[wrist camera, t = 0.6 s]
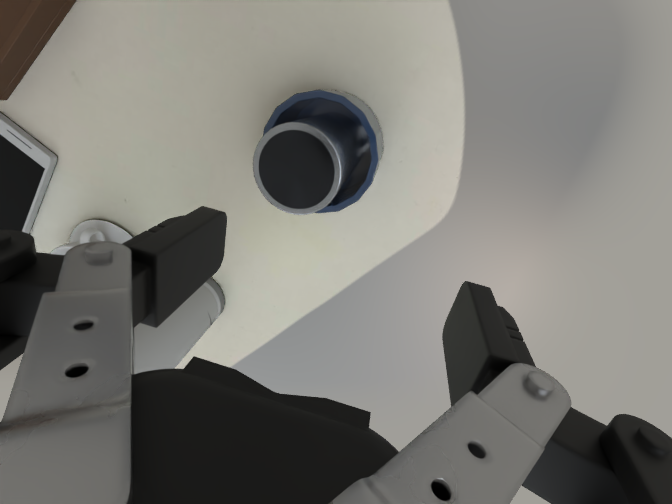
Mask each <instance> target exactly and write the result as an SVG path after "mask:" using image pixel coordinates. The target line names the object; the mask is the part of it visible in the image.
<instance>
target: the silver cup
mask: <svg viewBox="0 0 672 504" xmlns="http://www.w3.org/2000/svg"><path fill="white" fill-rule="evenodd" d="M363 148H364V143H363V137H362V134H361V131H360V129H359V128H358V126H357V125H356V124H355V122H354V121H353V120H351V119H350V118H349V117H347V116H345V115H343V114H340V113H336V112H328V113H323V114H319V115H315V116H311V117H307V118H303V119H299V120H295V121H291V122H287V123H283V124H280V125H277V126H275V127H274V128H272V129H270V130H269V131H268V132H267V133H266V134H265V135H264V136H263V137H262V138H261V140H260V141H259V143H258V145H257V147H256V150H255V153H254V158H253V171H254V177H255V180H256V183H257V185H258V188H259V189H260V191H261V193H262V194H263V195H264V197H265V198H266V199H267V200H268V201H269V202H270V203H271V204H272V205H274V206H275V207H277V208H278V209H280V210H282V211H285V212H287V213H291V214H297V215H306V214H311V213H315V212H317V211H319V210H321V209H323V208H324V207H326V206H327V205H328V204H329V203H330V202H331V201H332V200H333V199H334V197H335V196H336V194H337V193H338V192H339V190H340V189H341V187H342V186H343V185H344V183H345V182H346V180H347V179H348V178H349V176H350V175H351V173H352V172H353V171H354V169H355V168H356V166H357V165H358V163H359V162H360V160H361V157H362V154H363Z"/></svg>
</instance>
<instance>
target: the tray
mask: <svg viewBox="0 0 672 504" xmlns="http://www.w3.org/2000/svg"><path fill="white" fill-rule="evenodd" d="M75 1H76V0H0V100H7V99H8V98H9V96H10V95H11V93H12V92H13V90H14V89H15V88H16V86H17V85H18V83H19V82H20V80H21V79H22V78H23V76H24V75H25V73H26V72H27V70H28V69H29V67H30V66H31V65H32V63H33V62H34V60H35V59H36V57H37V56H38V55H39V53H40V52H41V50H42V49H43V47H44V46H45V44H46V43H47V42H48V40H49V39H50V37H51V36H52V34H53V33H54V32H55V30H56V29H57V27H58V26H59V24H60V23H61V21H62V20H63V19H64V17H65V16H66V14H67V13H68V11H69V10H70V9H71V7H72V6H73V4H74V3H75Z"/></svg>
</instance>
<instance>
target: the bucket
mask: <svg viewBox="0 0 672 504" xmlns="http://www.w3.org/2000/svg"><path fill="white" fill-rule="evenodd" d="M328 112H336V113H340V114H343V115H345V116H347V117H349V118H350V119H351V120H353V121H354V122H355V124H356V125H357V126H358V128H359V129H360V131H361V134H362V137H363V143H364V148H363V154H362V157H361V160H360V162H359V163H358V165H357V166H356V168H355V169H354V171H353V172H352V173H351V175H350V176H349V178H348V179H347V180H346V182H345V183H344V185H343V186H342V187H341V189H340V190H339V192H338V193H337V194H336V196H335V197H334V199H333V200H332V201H331V202H330V203H329V204H328V205H327V206H326V207H324V208H323V209H321V210H319V211H317V212H315V213H326V212H336V211H340V210H342V209H344V208H346V207H347V206H349V205H351V204H353V203H355V202H357V201H358V200H359V199H360V198H361V196H362V195H363V194H364V193H365V191H366V190H367V189H368V188H369V186H370V185H371V184H372V182H373V179H374V177H375V175H376V172H377V170H378V167H379V163H380V160H381V157H382V153H383V135H382V129H381V126H380V124H379V122H378V119H377V117H376V116H375V114H374V112H373V111H372V109H371V108H370V107H369V106H368V105H366V104H365V103H364V102H363V101H362V100H360V99H359V98H357V97H356V96H354V95H351V94H348V93H345V92H340V91H337V90H314V91H308V92H303V93H297V94H295V95H293V96H292V97H290V98H289V99H288V100H286V101H285V102H283V103H282V104H281V105H279V106H278V107H277V108H276V109H275V110H274V112H273V114H272V116H271V117H270V119H269V121H268V122H267V124H266V126H265V128H264V133H263V136H264V135H265V134H266V133H267V132H268V131H269V130H270V129H272V128H274V127H275V126H277V125H280V124H283V123H287V122H291V121H295V120H299V119H303V118H307V117H311V116H315V115H319V114H323V113H328Z"/></svg>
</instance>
